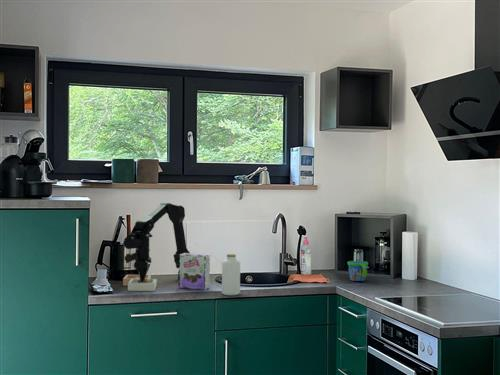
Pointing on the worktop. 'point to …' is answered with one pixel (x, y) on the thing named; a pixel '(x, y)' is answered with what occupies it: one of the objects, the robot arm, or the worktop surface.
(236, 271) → the potion bottle
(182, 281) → the candy box
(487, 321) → the worktop surface
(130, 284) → the cream dish
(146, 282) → the walnut block
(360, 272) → the snack cup
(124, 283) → the terracotta dish
